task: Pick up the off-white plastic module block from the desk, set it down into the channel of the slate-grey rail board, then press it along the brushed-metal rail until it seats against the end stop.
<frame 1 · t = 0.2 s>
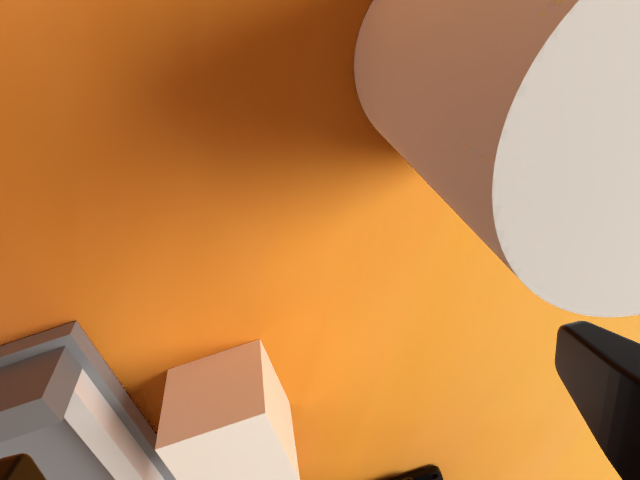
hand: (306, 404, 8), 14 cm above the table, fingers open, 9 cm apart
module: (231, 386, 26), on the table
cup: (448, 59, 20), on the table
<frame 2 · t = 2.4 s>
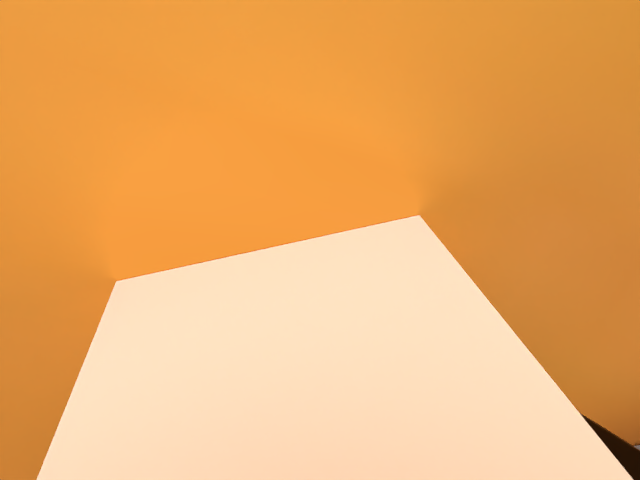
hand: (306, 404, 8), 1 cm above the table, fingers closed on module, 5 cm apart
module: (298, 362, 9), on the table, touching gripper
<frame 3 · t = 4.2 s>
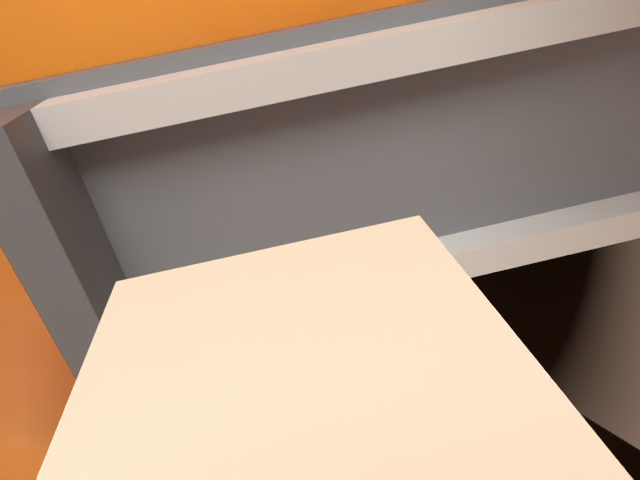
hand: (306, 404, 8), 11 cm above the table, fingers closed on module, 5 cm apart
module: (298, 362, 9), point 10 cm above the table, touching gripper
rail board: (404, 153, 18), on the table
when the fingers open (3 cm above the table, at t = 5.8 s): module stays where it is, resting on rail board.
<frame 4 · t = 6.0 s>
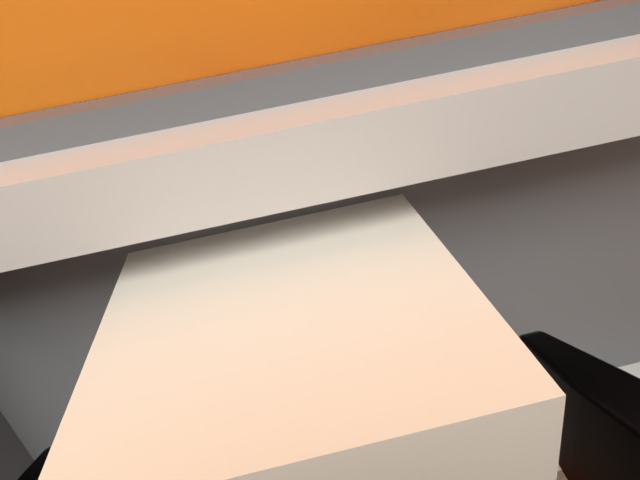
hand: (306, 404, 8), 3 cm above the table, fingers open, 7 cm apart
module: (293, 331, 10), point 1 cm above the table, touching rail board
rail board: (502, 255, 11), on the table
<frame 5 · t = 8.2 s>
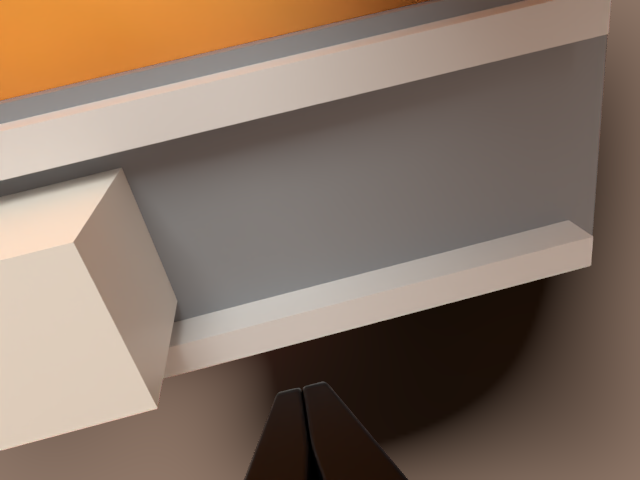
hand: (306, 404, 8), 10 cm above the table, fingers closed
module: (75, 258, 16), point 1 cm above the table, touching rail board
rail board: (226, 209, 17), on the table
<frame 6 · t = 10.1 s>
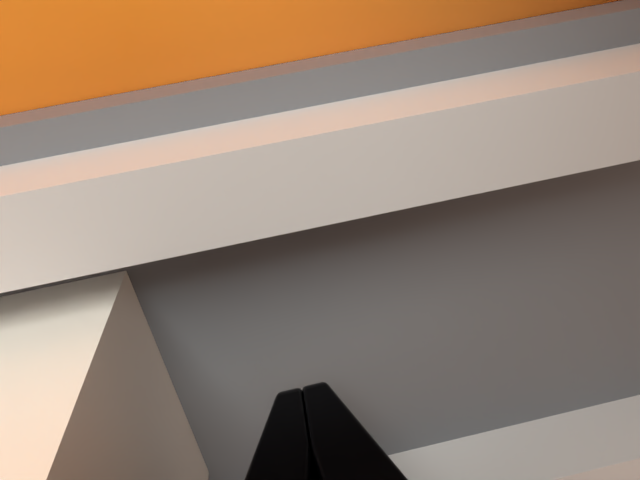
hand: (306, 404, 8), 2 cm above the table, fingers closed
module: (34, 415, 9), point 1 cm above the table, touching gripper, rail board
rail board: (299, 323, 10), on the table
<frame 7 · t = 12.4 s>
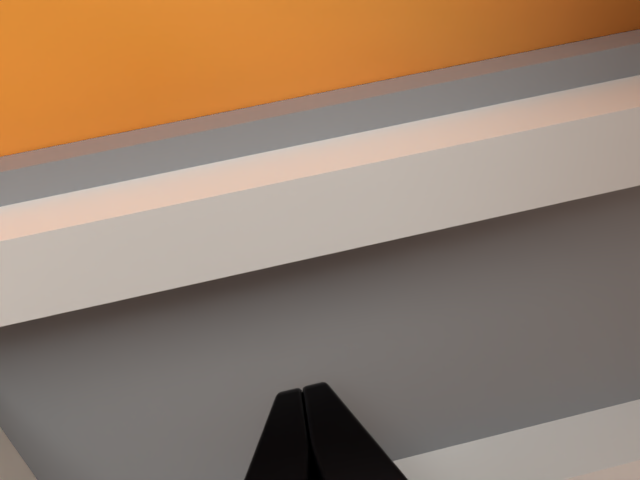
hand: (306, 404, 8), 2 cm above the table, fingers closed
rail board: (309, 336, 11), on the table
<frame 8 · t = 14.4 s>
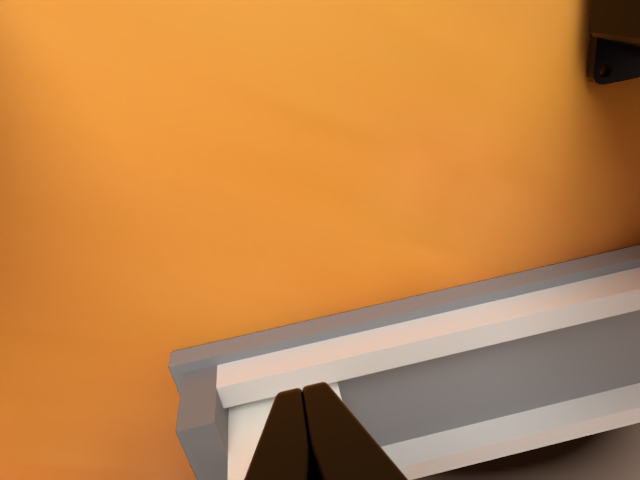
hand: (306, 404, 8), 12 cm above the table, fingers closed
module: (292, 421, 24), point 1 cm above the table, touching rail board
rail board: (451, 367, 25), on the table
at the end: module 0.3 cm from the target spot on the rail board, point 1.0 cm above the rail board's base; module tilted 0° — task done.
